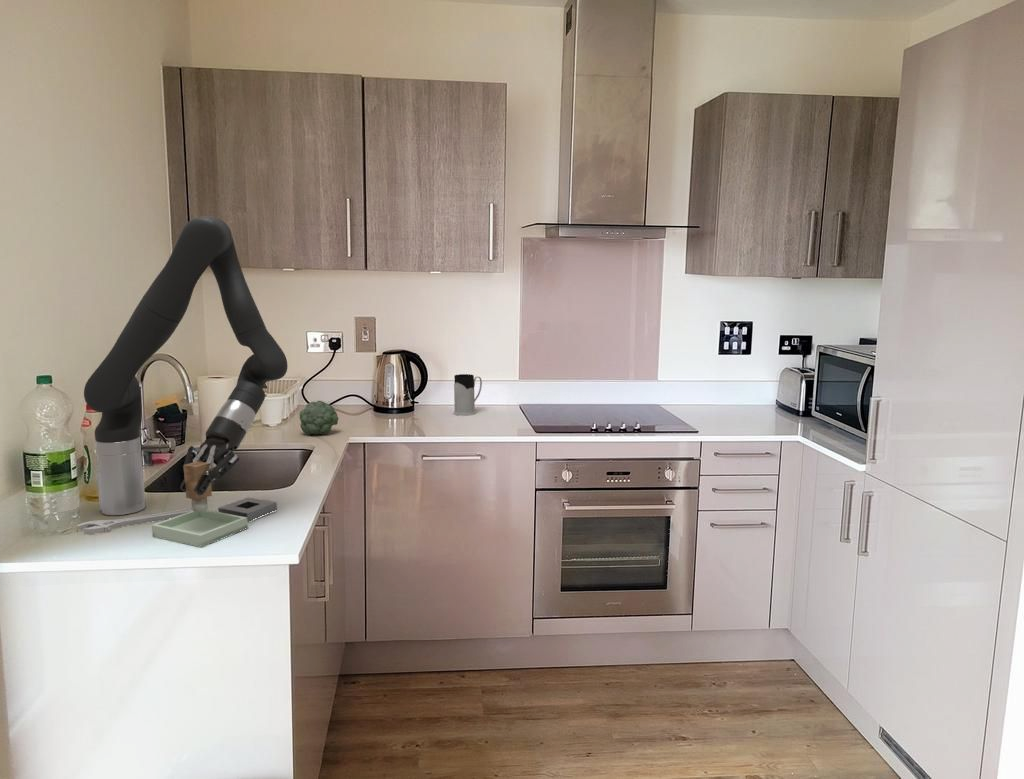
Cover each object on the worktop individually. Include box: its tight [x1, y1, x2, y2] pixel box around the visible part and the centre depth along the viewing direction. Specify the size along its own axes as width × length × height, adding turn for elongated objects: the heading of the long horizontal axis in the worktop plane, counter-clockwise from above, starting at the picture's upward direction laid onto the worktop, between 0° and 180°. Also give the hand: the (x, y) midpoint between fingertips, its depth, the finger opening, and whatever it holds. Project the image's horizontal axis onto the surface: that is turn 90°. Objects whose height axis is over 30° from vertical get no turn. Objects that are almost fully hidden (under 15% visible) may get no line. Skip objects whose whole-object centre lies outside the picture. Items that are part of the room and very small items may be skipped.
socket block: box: [217, 496, 278, 523], centre depth 174 cm, size 9×9×2 cm
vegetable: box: [299, 400, 339, 436], centre depth 260 cm, size 12×13×15 cm
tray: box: [151, 509, 249, 548], centre depth 162 cm, size 15×13×2 cm
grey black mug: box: [453, 373, 483, 417], centre depth 295 cm, size 9×14×15 cm, turn 140°
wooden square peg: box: [182, 461, 213, 512], centre depth 161 cm, size 4×4×10 cm
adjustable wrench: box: [76, 507, 193, 535], centre depth 169 cm, size 25×6×2 cm, turn 118°
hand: (190, 491), depth 159 cm, fingers closed on wooden square peg, 3 cm apart
